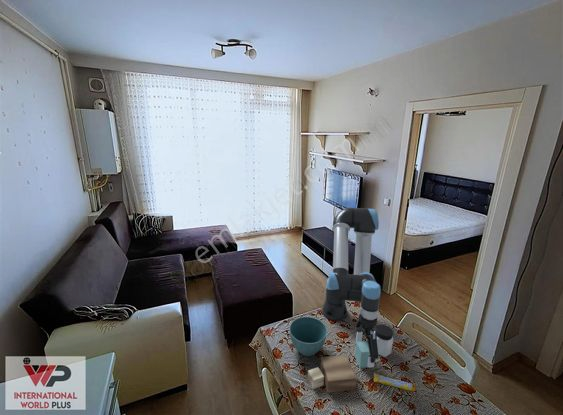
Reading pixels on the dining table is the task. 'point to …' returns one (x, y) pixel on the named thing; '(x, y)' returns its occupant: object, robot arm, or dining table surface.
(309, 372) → the cream cube
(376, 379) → the candy bar
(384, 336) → the jar
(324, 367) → the walnut block
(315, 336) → the plant pot
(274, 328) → the dining table surface
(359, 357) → the teal block
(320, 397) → the dining table surface
